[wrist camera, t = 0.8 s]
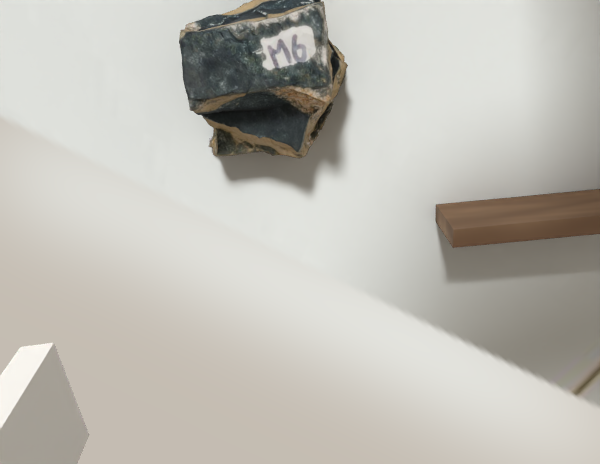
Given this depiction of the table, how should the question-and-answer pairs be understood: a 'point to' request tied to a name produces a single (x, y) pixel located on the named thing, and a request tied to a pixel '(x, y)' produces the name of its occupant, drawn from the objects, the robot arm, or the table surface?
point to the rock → (262, 76)
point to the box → (520, 218)
